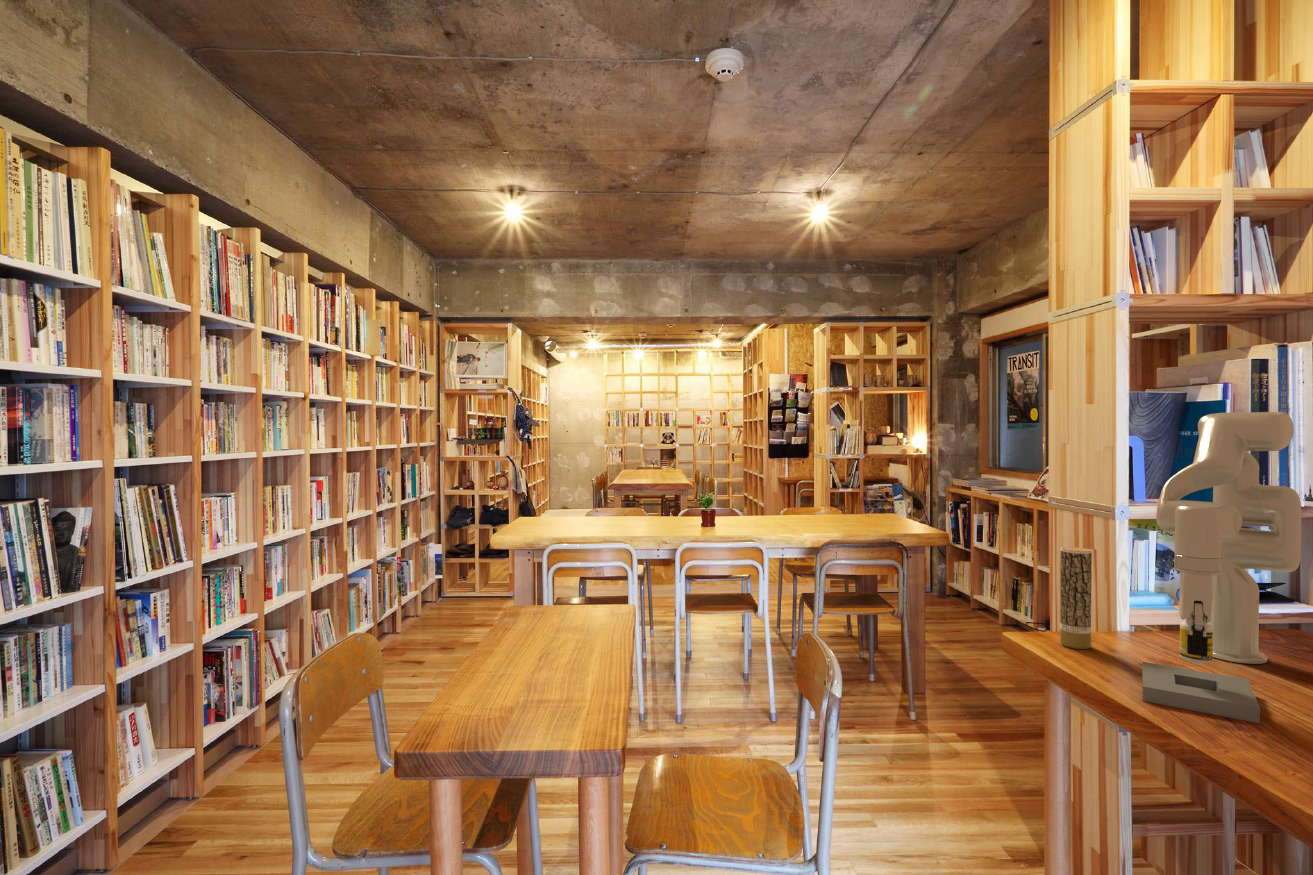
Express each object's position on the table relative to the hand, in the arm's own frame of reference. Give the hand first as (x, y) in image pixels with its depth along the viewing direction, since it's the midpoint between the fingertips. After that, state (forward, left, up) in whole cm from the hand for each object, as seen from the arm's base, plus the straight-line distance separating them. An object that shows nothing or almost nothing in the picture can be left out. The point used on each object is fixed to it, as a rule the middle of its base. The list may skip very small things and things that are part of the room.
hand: (1196, 650), depth 139 cm
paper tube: (-24, -23, -10) cm, 35 cm away
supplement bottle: (0, 0, -2) cm, 2 cm away
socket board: (0, 0, -10) cm, 10 cm away
